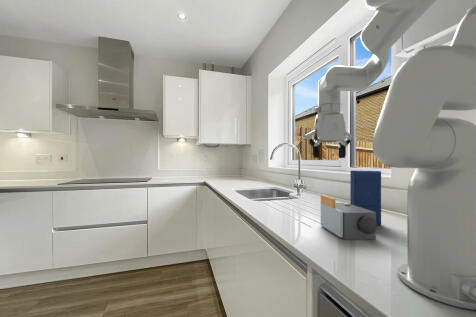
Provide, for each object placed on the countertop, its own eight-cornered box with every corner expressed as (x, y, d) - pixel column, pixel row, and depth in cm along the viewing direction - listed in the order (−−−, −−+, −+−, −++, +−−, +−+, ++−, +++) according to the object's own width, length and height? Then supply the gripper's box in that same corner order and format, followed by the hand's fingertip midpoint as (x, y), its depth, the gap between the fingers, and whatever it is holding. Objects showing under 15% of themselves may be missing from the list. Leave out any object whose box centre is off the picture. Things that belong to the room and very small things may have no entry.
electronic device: (374, 221, 79) (374, 170, 79) (382, 225, 74) (382, 171, 74) (349, 220, 80) (349, 170, 80) (355, 224, 75) (355, 170, 75)
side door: (342, 237, 61) (343, 201, 61) (340, 237, 61) (340, 201, 61) (322, 224, 73) (322, 194, 73) (320, 224, 72) (320, 194, 73)
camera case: (380, 240, 60) (380, 211, 60) (348, 241, 59) (348, 212, 59) (346, 224, 75) (347, 201, 75) (321, 224, 74) (321, 201, 74)
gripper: (310, 107, 69) (310, 157, 69) (358, 109, 71) (358, 157, 70) (302, 113, 77) (301, 157, 76) (345, 114, 78) (345, 158, 78)
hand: (329, 157), depth 73 cm, fingers open, 9 cm apart
